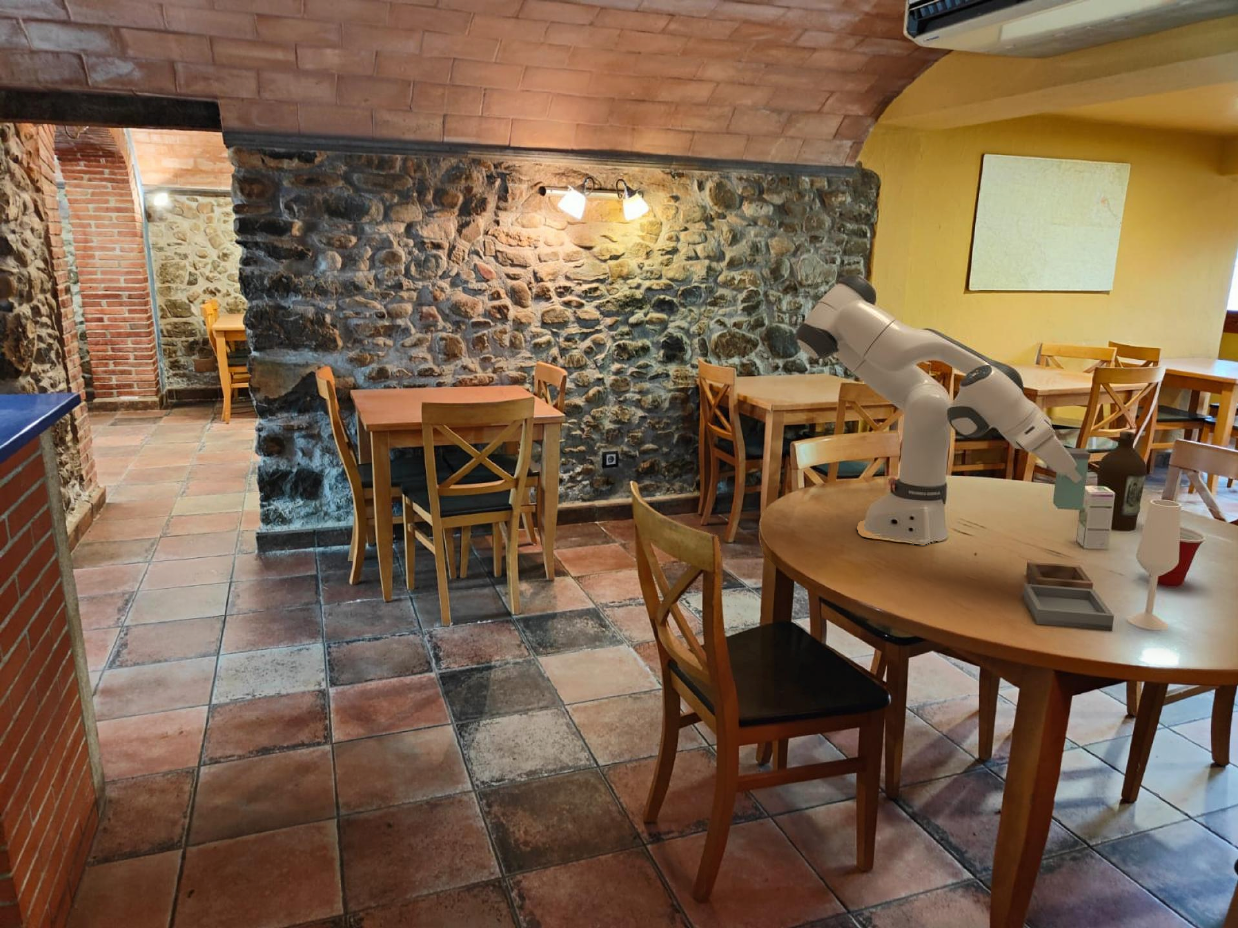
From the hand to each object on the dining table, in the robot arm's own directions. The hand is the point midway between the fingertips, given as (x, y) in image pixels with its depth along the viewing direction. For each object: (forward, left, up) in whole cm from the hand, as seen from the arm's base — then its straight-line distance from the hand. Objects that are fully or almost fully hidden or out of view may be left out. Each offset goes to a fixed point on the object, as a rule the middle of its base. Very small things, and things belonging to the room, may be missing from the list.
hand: (1074, 476), depth 164 cm
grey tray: (-3, -15, -24) cm, 29 cm away
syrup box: (+13, +29, -25) cm, 40 cm away
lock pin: (-1, 0, -7) cm, 7 cm away
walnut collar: (-1, 0, -24) cm, 24 cm away
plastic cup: (+22, +7, -25) cm, 34 cm away
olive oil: (+23, +47, -25) cm, 58 cm away
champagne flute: (+11, -16, -25) cm, 31 cm away
